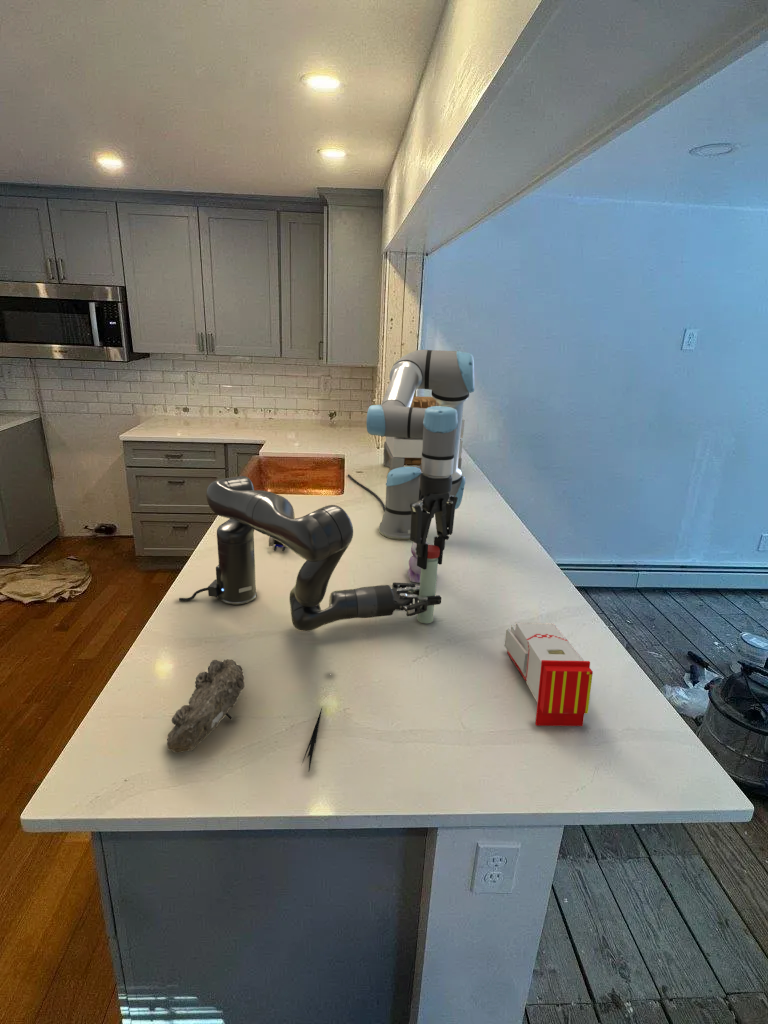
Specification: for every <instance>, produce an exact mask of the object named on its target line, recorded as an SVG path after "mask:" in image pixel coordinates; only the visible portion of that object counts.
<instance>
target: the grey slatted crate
mask: <svg viewBox="0 0 768 1024" xmlns="http://www.w3.org/2000/svg"><path fill="white" fill-rule="evenodd" d="M432 406H436V400H435V399H434V398H433V397H432V396H415V395H414V397H413V400H412V404H411V407H412V408H428V407H432ZM464 429H465V419H464V418H462V425H461V436H460V447H459V458H458V468H459V469H460V470H461V471H462V461H463V460H462V453H463V442H464V441H463V440H462V439H463V438H464V431H465V430H464ZM422 448H423V439H413V438H401V437H385V438H384V442H383V466H384V467H388V468H389V472H390V471H391V470H393V469H396V468H400V467H405V466H406V467H417V466H418V467H421V459H422Z"/></svg>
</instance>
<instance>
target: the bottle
mask: <svg viewBox="0 0 768 1024" xmlns="http://www.w3.org/2000/svg"><path fill="white" fill-rule="evenodd" d="M438 566H439V564H438V558H435V559H428V558H427V568H426V569H425V570H424V569H422V568H421V576H420V583H419V587H420V590H419V597H427V596H436V590H437V589H436V588H437V577H438V568H439V567H438ZM418 602H421V600H419V601H418ZM420 608H421V607H420ZM434 613H435V605H429V606H427V611H425V612H422V613H419V614H417V618H416V619H417V621H418V622H419V623H421V624H431V623H432V622H434Z"/></svg>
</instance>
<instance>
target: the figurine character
mask: <svg viewBox="0 0 768 1024" xmlns="http://www.w3.org/2000/svg"><path fill="white" fill-rule="evenodd" d="M268 546H269V547H272V548H273V551H277V549H278V548H282V552H284V551H285V550H286V548H288V547H287V546H285V545H284V544H282V543H281V542H279V541H277V540H275V539H273V538H271V537H270V536H268Z"/></svg>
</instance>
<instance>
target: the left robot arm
mask: <svg viewBox="0 0 768 1024" xmlns="http://www.w3.org/2000/svg"><path fill="white" fill-rule="evenodd" d="M205 496H206V497H205V498H206V502H207V505H208V506H209V508H210V510H211V511H212V512H213V513H214V514H215V515H217V516H218V517H222V518H226V519H227V520H226V521H224V522H223V523H221V524H220V525H219V526H218V527H217V528H216V543H217V554H218V555H217V560H218V565H217V566H216V567H215V579H214V580H213V581H212V582H211V583H210V584H209V585H208V586H207V587H204V588H200V589H197V590H196V591H195V592H194V593H192V595H191V596H190V597H179V598H178V600H179V602H188V601H192V600H194V598H195V597H197V595H198V594H200V593H203V592H205V591H207V593H208V594H207V595H208V597H211V598H217V600H218V601H221V602H223V603H224V604H227V605H233V606H235V605H236V606H237V605H245V604H248V603H251V602H252V601H254V600H255V599H256V597H257V585H256V560H255V559H256V557H255V555H256V554H255V531H256V532H258V533H261V534H262V535H265V536H267V537H271V538H273V539H275V540H277V541H279V542H281V543H282V544H284V545H285V546H287V547H286V548H288V549H289V550H290V551H292V552H293V553H295V554H296V555H297V556H298V557H301V558H302V559H304V560H305V561H304V563H303V564H302V566H301V567H300V569H299V571H298V573H297V575H296V580H295V584H294V586H293V588H292V589H291V590H290V593H289V607H290V616H291V623H292V625H293V627H294V628H295V629H296V630H298V631H302V632H308V631H309V632H310V631H313V630H316V629H318V628H320V627H323V626H326V625H328V624H331V623H333V622H334V623H335V622H337V621H342V620H350V619H351V620H352V619H369V618H379V617H388V616H392V615H393V614H394V612H395V611H404V612H405V614H406V616H407V617H413V616H416V615H418V614H419V613H422V612H425V611H427V606H429V605H434V606H437V605H441V604H442V596H441V595H439V594H438V595H436V594H435V596H427V597H419V590H420V586H419V585H417V586H416V583H414V582H411V583H410V582H395V581H394V582H392V587H391V585H389V584H383V585H382V584H381V585H372V586H362V587H357V588H351V589H339V590H334V591H331V593H330V594H329V596H328V597H329V598H328V607H326V608H325V609H322V608H321V602H322V601H323V599H324V598H325V595H326V592H327V588H328V585H329V582H330V579H331V577H332V575H333V573H334V571H335V569H336V567H337V566H338V564H339V563H340V561H341V559H342V558H343V555H344V554H345V553H346V550H347V549H348V548H349V546H350V545H351V543H352V541H353V537H354V527H353V523H352V519H351V518H350V516H349V514H348V513H347V512H346V511H345V510H344V509H343V508H342V507H341V506H339V505H336V504H329V505H325V506H322V507H321V508H318V509H316V510H314V511H312V512H310V513H307V514H306V515H303V516H300V517H297V518H296V514H295V509H294V507H293V505H292V504H291V502H290V501H289V500H288V499H287V498H285V497H284V496H282V495H281V494H280V495H279V494H277V493H275V492H271V491H267V490H260V489H259V490H257V489H255V486H254V484H253V482H252V480H251V479H250V477H248V476H246V475H238V476H232V477H226V478H219V479H215V480H214V481H212V482H211V483H209V485H208V486H207V488H206V493H205ZM419 600H421V602H419ZM420 607H421V608H420Z"/></svg>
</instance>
